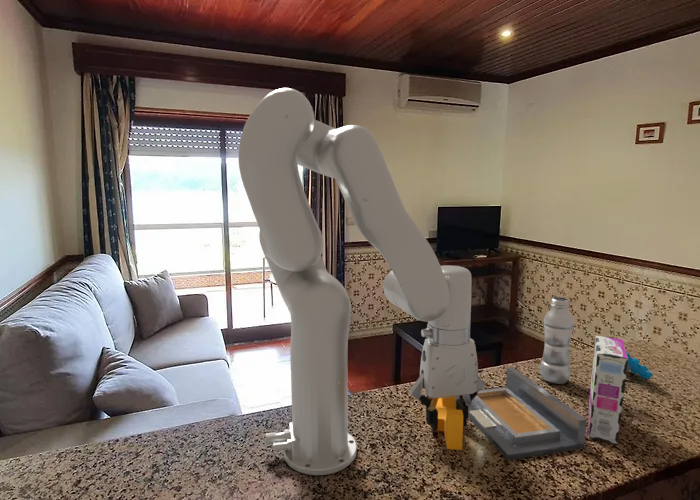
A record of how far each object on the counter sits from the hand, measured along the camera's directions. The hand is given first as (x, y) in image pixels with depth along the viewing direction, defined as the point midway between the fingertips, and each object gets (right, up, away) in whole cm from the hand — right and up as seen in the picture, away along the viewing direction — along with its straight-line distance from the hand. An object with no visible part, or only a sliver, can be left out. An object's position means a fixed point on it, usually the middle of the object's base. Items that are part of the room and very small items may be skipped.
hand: (446, 423), depth 81 cm
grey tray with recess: (+13, 0, +3) cm, 13 cm away
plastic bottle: (+30, +2, +20) cm, 36 cm away
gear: (+48, +2, +22) cm, 53 cm away
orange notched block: (0, -1, 0) cm, 1 cm away
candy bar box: (+30, -1, +1) cm, 30 cm away
